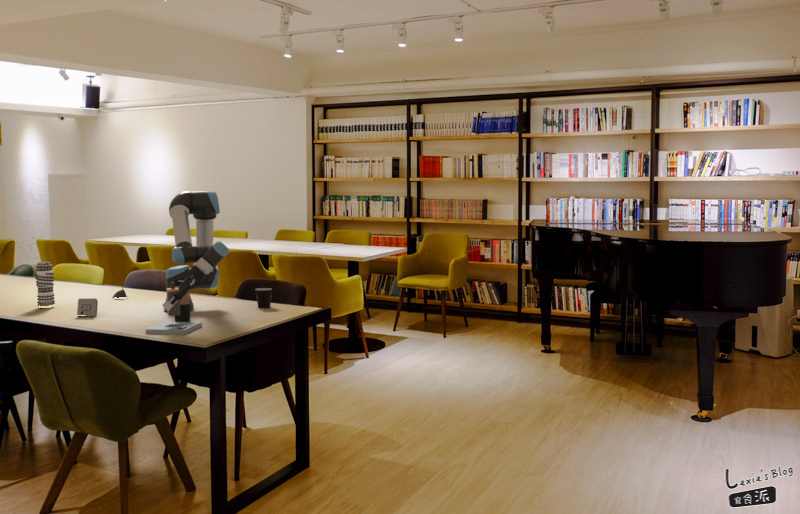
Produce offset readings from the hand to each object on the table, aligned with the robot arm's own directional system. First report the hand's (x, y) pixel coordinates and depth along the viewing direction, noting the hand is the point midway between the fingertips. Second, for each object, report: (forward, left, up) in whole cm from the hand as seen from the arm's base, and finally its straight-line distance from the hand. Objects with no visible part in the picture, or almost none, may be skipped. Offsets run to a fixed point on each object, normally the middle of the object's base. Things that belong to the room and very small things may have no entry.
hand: (165, 308), depth 318 cm
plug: (+3, +2, -3) cm, 5 cm away
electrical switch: (-58, +32, -11) cm, 67 cm away
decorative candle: (-96, +54, -11) cm, 111 cm away
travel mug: (-3, +23, -11) cm, 26 cm away
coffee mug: (+24, +66, -11) cm, 71 cm away
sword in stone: (-73, +89, -11) cm, 116 cm away
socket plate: (+3, +2, -10) cm, 11 cm away
